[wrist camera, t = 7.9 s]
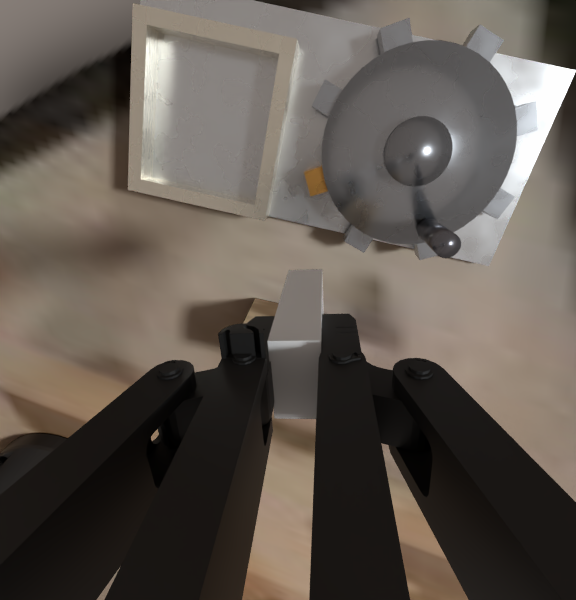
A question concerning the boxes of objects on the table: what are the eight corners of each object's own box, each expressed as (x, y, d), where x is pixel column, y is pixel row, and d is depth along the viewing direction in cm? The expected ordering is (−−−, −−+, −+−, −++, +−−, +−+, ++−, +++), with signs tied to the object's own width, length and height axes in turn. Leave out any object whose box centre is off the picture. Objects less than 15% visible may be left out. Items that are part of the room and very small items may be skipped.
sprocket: (332, 273, 32) (333, 306, 25) (279, 71, 26) (263, 48, 20) (529, 225, 28) (588, 248, 22) (515, -15, 23) (587, -77, 17)
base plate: (139, 184, 32) (121, 188, 29) (147, -18, 26) (126, -38, 23) (484, 262, 31) (499, 273, 28) (567, 73, 26) (596, 64, 23)
